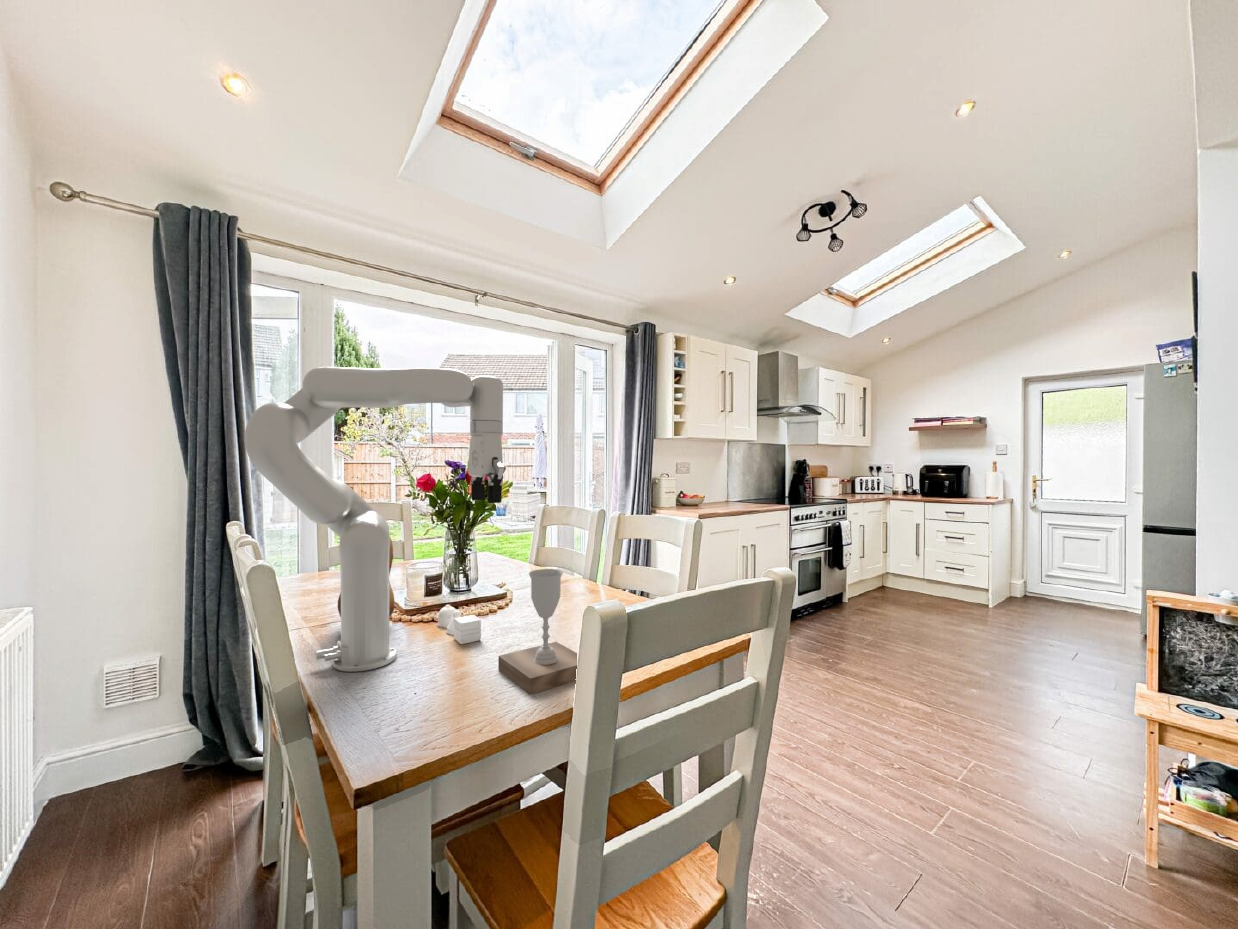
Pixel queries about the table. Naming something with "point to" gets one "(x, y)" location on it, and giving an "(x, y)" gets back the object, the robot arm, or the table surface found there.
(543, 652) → the chalice
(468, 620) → the container set
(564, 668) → the walnut plinth
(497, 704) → the table surface
